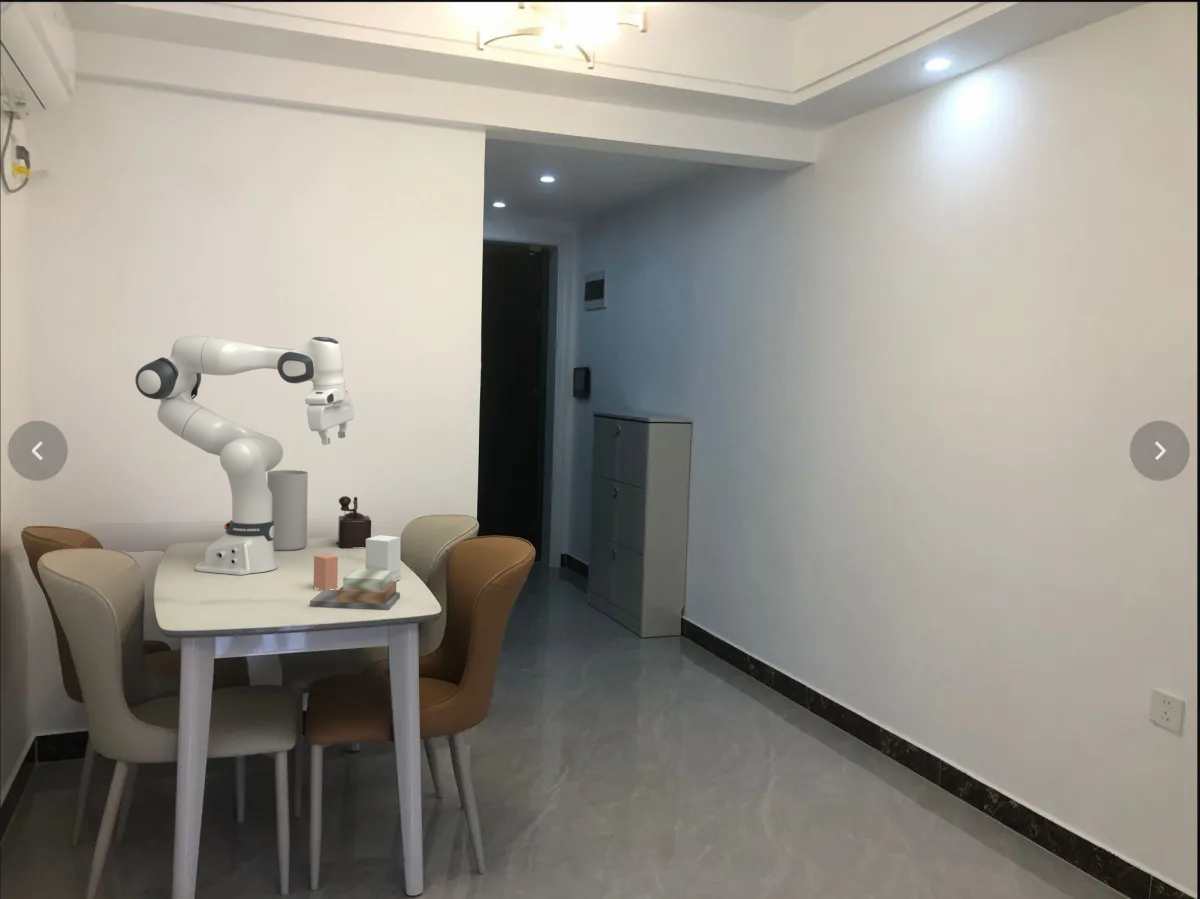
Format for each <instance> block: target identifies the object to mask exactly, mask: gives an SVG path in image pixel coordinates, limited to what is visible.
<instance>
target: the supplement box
mask: <svg viewBox="0 0 1200 899" xmlns="http://www.w3.org/2000/svg"><path fill="white" fill-rule="evenodd" d="M401 538H402V537H400V536H392V535H383V534H379V535H375V536H372V537H371V538H368V539H366V548H365V570H384V571H392V581H396V582H398V581H397V580H399V579H400V580H401V552H402V551H401V542H402V541H401V540H402V539H401ZM400 580H399V581H400Z"/></svg>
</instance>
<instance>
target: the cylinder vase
mask: <svg viewBox="0 0 1200 899" xmlns="http://www.w3.org/2000/svg"><path fill="white" fill-rule="evenodd" d="M266 472H267V474H266V475H267V476H266V481H267V485H268V488H269V490H270V491H271V493H272V520H273V521H274V539H273V547H274V551H279V552H280V551H281V552H282V551H283V552H284V551H285V552H286V551H287V552H289V551H290V550H291V551H298V549H299V550H302V549H305V548H306V547H307V545H308V484H309V483H308V482H309V481H308V478H309V476H308V474H309V473H308V471H306V470H305V471H304V470H295V469H294V470H293V469H292V470H291V469H290V470H289V469H287V470H285V469H281V470H269V471H266Z"/></svg>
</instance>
